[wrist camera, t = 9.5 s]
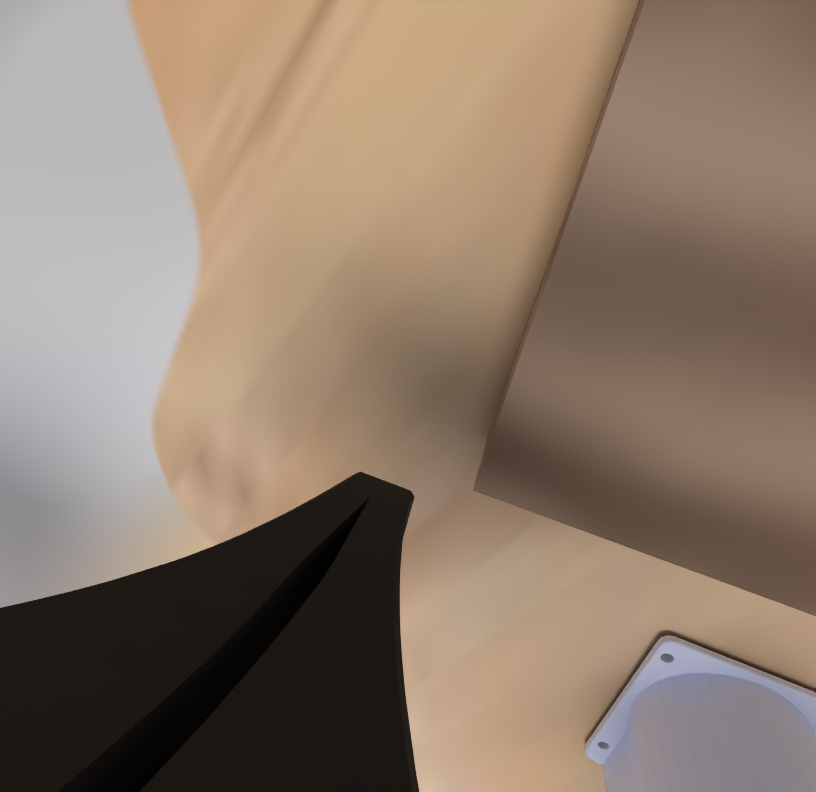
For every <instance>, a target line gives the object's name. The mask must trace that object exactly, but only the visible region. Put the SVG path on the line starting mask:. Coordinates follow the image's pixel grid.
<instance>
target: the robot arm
mask: <svg viewBox="0 0 816 792" xmlns="http://www.w3.org/2000/svg"><path fill="white" fill-rule="evenodd" d="M413 500H414V495H413V494H412V492H411V491H410V490H407V489H405V488H402V487H399V486H397V485H394V484H391V483H389V482H386V481H383V480H381V479H378V478H376V477H373V476H370V475H368V474H365V473H362V472H359V473H356V474H354V475H352V476H351V477H349V478H347V479H346V480H344V481H342V482H341V483H339V484H337V485H336V486H334V487H332V488H330V489H329V490H327V491H325V492H324V493H322V494H320V495H318V496H317V497H315V498H313V499H311V500H309V501H307V502H306V503H304V504H302V505H300V506H298V507H296V508H294V509H293V510H291V511H289V512H287V513H285V514H283V515H281V516H279V517H277V518H275V519H273V520H271V521H269V522H267V523H265V524H262V525H260V526H258V527H256V528H254V529H252V530H250V531H248V532H246V533H243V534H241V535H239V536H237V537H234V538H232V539H230V540H227V541H225V542H223V543H220V544H218V545H215V546H213V547H210V548H208V549H205V550H202V551H200V552H197V553H195V554H192V555H190V556H187V557H184V558H181V559H178V560H176V561H172V562H169V563H166V564H163V565H160V566H157V567H153V568H150V569H147V570H144V571H141V572H137V573H134V574H131V575H128V576H125V577H121V578H119V579H115V580H112V581H108V582H105V583H101V584H97V585H94V586H90V587H86V588H82V589H79V590H74V591H71V592H67V593H63V594H58V595H54V596H50V597H46V598H42V599H38V600H34V601H29V602H25V603H21V604H16V605H11V606H7V607H3V608H0V792H419V788H418V782H417V776H416V770H415V763H414V755H413V748H412V741H411V733H410V726H409V719H408V712H407V704H406V696H405V686H404V675H403V665H402V651H401V635H400V565H401V552H402V541H403V536H404V532H405V529H406V525H407V522H408V518H409V515H410V511H411V508H412V504H413ZM664 654H668V655H664ZM585 754H586V756H587V757H588V758H589V759H590V760H592V761H594V762H596V763H598V764H600V765H603V766H604V774H605V783H606V792H816V692H814V691H811V690H809V689H806V688H803V687H801V686H798V685H796V684H793V683H791V682H788V681H786V680H783V679H781V678H778V677H776V676H773V675H771V674H768V673H766V672H763V671H761V670H758V669H756V668H753V667H751V666H748V665H746V664H743V663H741V662H738V661H736V660H733V659H730V658H728V657H725V656H723V655H720V654H718V653H715V652H713V651H710V650H708V649H705V648H703V647H700V646H698V645H695V644H693V643H690V642H688V641H685V640H683V639H680V638H678V637H675V636H671V635H666V636H663V637H661V638H660V639H659V640H658V641H657V643H656V644H655V645H654V647H653V648H652V650H651V651H650V653H649V654H648V655H647V657H646V658H645V660H644V661H643V663H642V664H641V665H640V667H639V668H638V670H637V671H636V673H635V674H634V675H633V677H632V678H631V680H630V681H629V683H628V684H627V685H626V687H625V688H624V690H623V691H622V693H621V694H620V695H619V697H618V698H617V700H616V701H615V703H614V704H613V705H612V707H611V708H610V710H609V711H608V713H607V714H606V715H605V717H604V718H603V720H602V721H601V723H600V724H599V725H598V727H597V728H596V730H595V731H594V733H593V734H592V736H591V737H590V738H589V740H588V741H587V743H586V744H585Z"/></svg>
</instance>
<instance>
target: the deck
mask: <svg viewBox="0 0 816 792" xmlns="http://www.w3.org/2000/svg"><path fill="white" fill-rule="evenodd" d="M473 490H474V491H477V492H479V493H482V494H485V495H487V496H490V497H493V498H496V499H498V500H501V501H504V502H506V503H509V504H512V505H515V506H517V507H520V508H523V509H526V510H528V511H531V512H534V513H536V514H539V515H542V516H545V517H547V518H550V519H553V520H556V521H558V522H561V523H564V524H566V525H569V526H572V527H575V528H577V529H580V530H583V531H585V532H588V533H591V534H594V535H596V536H599V537H602V538H605V539H607V540H610V541H613V542H615V543H618V544H621V545H624V546H626V547H629V548H632V549H635V550H637V551H640V552H643V553H645V554H648V555H651V556H654V557H656V558H659V559H662V560H664V561H667V562H670V563H673V564H675V565H678V566H681V567H684V568H686V569H689V570H692V571H694V572H697V573H700V574H703V575H705V576H708V577H711V578H714V579H716V580H719V581H722V582H724V583H727V584H730V585H733V586H735V587H738V588H741V589H743V590H746V591H749V592H752V593H754V594H757V595H760V596H763V597H765V598H768V599H771V600H773V601H776V602H779V603H782V604H784V605H787V606H790V607H793V608H795V609H798V610H801V611H803V612H806V613H809V614H812V615H814V616H816V0H640V1H639V3H638V6H637V9H636V12H635V15H634V18H633V21H632V24H631V27H630V29H629V32H628V35H627V38H626V41H625V44H624V47H623V50H622V52H621V55H620V58H619V61H618V64H617V67H616V70H615V73H614V76H613V78H612V81H611V84H610V87H609V90H608V93H607V96H606V99H605V101H604V104H603V107H602V110H601V113H600V116H599V119H598V122H597V125H596V127H595V130H594V133H593V136H592V139H591V142H590V145H589V148H588V150H587V153H586V156H585V159H584V162H583V165H582V168H581V171H580V174H579V176H578V179H577V182H576V185H575V188H574V191H573V194H572V197H571V200H570V202H569V205H568V208H567V211H566V214H565V217H564V220H563V223H562V225H561V228H560V231H559V234H558V237H557V240H556V243H555V246H554V249H553V251H552V254H551V257H550V260H549V263H548V266H547V269H546V272H545V274H544V277H543V280H542V283H541V286H540V289H539V292H538V295H537V298H536V300H535V303H534V306H533V309H532V312H531V315H530V318H529V321H528V323H527V326H526V329H525V332H524V335H523V338H522V341H521V344H520V347H519V349H518V352H517V355H516V358H515V361H514V364H513V367H512V370H511V372H510V375H509V378H508V381H507V384H506V387H505V390H504V393H503V396H502V398H501V401H500V404H499V407H498V410H497V413H496V416H495V419H494V422H493V424H492V427H491V430H490V433H489V436H488V439H487V442H486V445H485V449H484V453H483V456H482V460H481V463H480V467H479V471H478V474H477V478H476V481H475V485H474V489H473Z"/></svg>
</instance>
